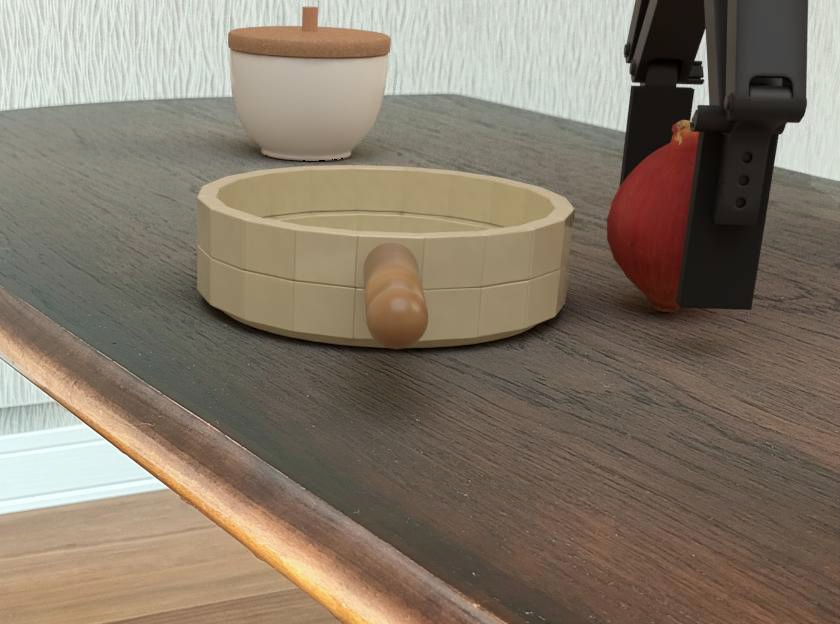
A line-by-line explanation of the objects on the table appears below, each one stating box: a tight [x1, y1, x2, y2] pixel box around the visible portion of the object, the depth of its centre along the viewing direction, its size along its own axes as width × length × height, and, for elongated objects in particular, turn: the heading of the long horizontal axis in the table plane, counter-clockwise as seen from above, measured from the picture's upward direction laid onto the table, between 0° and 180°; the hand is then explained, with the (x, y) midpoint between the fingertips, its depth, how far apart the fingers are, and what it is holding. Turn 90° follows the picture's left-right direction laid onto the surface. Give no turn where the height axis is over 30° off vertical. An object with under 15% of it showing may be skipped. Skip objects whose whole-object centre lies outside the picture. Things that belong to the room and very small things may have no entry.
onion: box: [606, 120, 699, 313], centre depth 61 cm, size 6×6×8 cm
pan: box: [196, 164, 576, 349], centre depth 62 cm, size 16×16×4 cm
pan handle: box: [363, 243, 428, 350], centre depth 50 cm, size 2×9×2 cm, turn 178°
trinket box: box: [227, 5, 392, 162], centre depth 96 cm, size 11×11×9 cm
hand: (675, 266), depth 62 cm, fingers open, 13 cm apart
